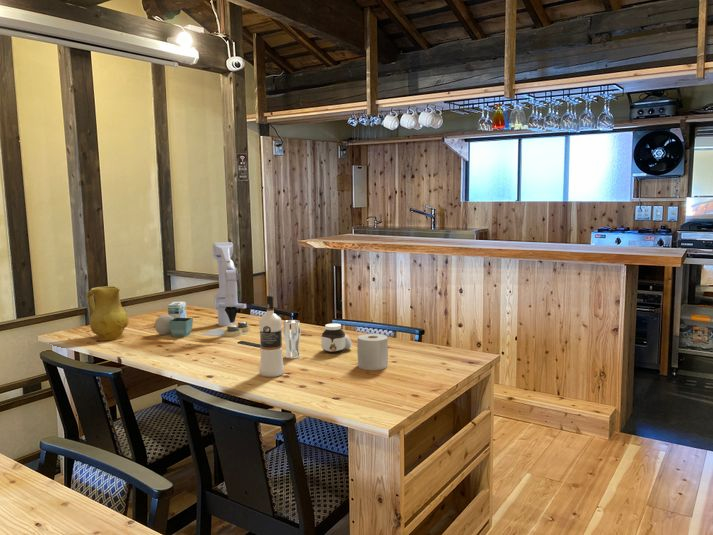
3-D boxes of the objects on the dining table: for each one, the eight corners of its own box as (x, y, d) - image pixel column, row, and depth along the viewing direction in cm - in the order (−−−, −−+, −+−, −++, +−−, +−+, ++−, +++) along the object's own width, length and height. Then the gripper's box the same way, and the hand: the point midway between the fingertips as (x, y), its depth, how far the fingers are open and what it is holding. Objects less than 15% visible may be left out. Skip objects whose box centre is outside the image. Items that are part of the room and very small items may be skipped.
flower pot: (194, 335, 280) (193, 317, 279) (187, 340, 271) (186, 321, 270) (176, 335, 281) (175, 317, 280) (169, 339, 272) (168, 321, 271)
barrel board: (217, 329, 292) (217, 319, 291) (253, 331, 286) (252, 321, 285) (199, 337, 276) (199, 326, 276) (237, 339, 270) (236, 328, 270)
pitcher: (97, 343, 265) (94, 289, 264) (85, 338, 279) (82, 287, 278) (134, 338, 276) (132, 286, 275) (121, 333, 290) (118, 284, 289)
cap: (230, 332, 279) (230, 324, 279) (239, 333, 278) (239, 325, 278) (225, 335, 275) (225, 326, 274) (235, 335, 273) (234, 327, 273)
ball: (168, 338, 276) (167, 317, 274) (150, 336, 279) (149, 316, 278) (180, 333, 285) (179, 313, 284) (164, 332, 288) (162, 312, 287)
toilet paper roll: (358, 361, 232) (357, 333, 231) (387, 361, 232) (387, 333, 231) (357, 370, 220) (356, 341, 219) (388, 370, 220) (388, 340, 219)
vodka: (288, 371, 220) (286, 294, 216) (276, 378, 211) (274, 298, 208) (267, 369, 223) (265, 293, 220) (255, 376, 215) (252, 297, 211)
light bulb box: (180, 324, 304) (180, 304, 303) (168, 324, 305) (167, 304, 303) (187, 320, 315) (186, 301, 314) (174, 320, 315) (173, 301, 314)
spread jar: (319, 352, 246) (318, 326, 245) (329, 346, 257) (329, 320, 255) (345, 355, 242) (345, 328, 241) (354, 348, 253) (354, 322, 251)
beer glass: (287, 359, 236) (286, 324, 234) (281, 355, 242) (280, 320, 240) (303, 357, 239) (302, 322, 237) (297, 353, 245) (296, 319, 243)
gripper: (213, 295, 272) (214, 323, 274) (240, 296, 268) (241, 325, 270) (221, 292, 279) (222, 320, 281) (248, 294, 275) (248, 321, 277)
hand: (232, 322), depth 276 cm, fingers closed
